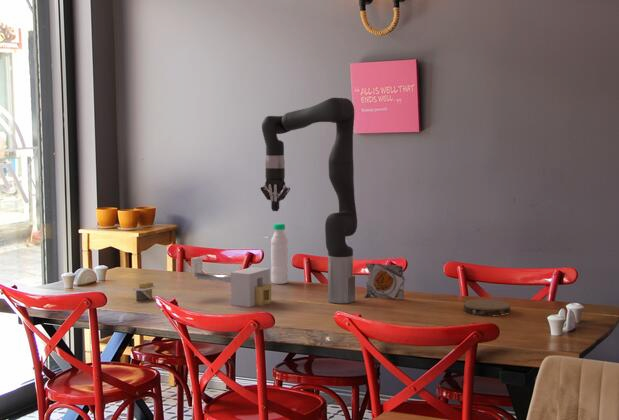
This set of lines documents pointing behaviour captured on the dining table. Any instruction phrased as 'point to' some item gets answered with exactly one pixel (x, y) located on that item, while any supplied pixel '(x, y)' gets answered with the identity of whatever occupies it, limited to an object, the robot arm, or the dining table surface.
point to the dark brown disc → (486, 307)
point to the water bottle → (279, 255)
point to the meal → (385, 281)
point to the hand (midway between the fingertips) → (275, 210)
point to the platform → (144, 291)
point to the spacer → (262, 294)
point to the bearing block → (247, 285)
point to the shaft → (197, 272)
